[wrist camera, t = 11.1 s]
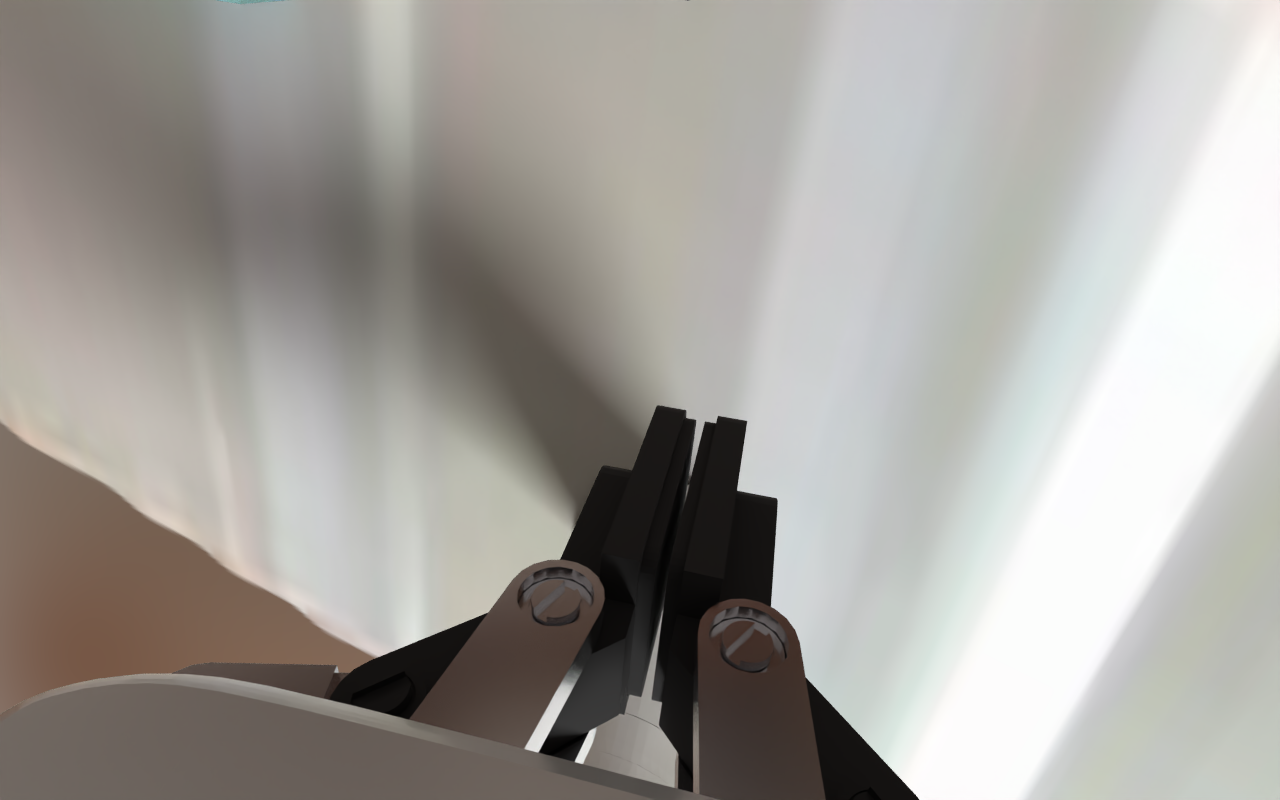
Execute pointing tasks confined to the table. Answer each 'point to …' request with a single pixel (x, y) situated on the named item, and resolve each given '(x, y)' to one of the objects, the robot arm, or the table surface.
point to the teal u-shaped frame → (248, 1)
